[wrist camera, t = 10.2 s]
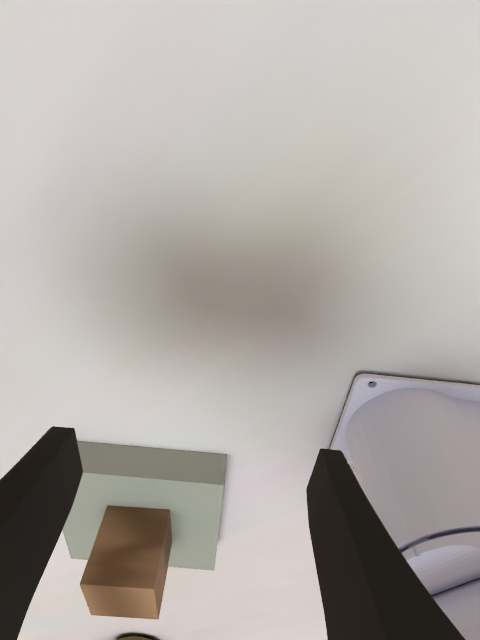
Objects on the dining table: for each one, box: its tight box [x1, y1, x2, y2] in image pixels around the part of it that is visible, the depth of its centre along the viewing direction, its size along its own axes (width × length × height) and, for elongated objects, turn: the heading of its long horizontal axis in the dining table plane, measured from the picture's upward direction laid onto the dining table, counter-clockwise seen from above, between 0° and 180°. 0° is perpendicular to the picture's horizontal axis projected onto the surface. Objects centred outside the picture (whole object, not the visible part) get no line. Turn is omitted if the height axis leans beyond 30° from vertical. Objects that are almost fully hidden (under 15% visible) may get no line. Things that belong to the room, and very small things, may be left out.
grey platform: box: [62, 441, 227, 570], centre depth 29 cm, size 12×12×3 cm
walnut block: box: [80, 505, 172, 619], centre depth 26 cm, size 4×4×5 cm
